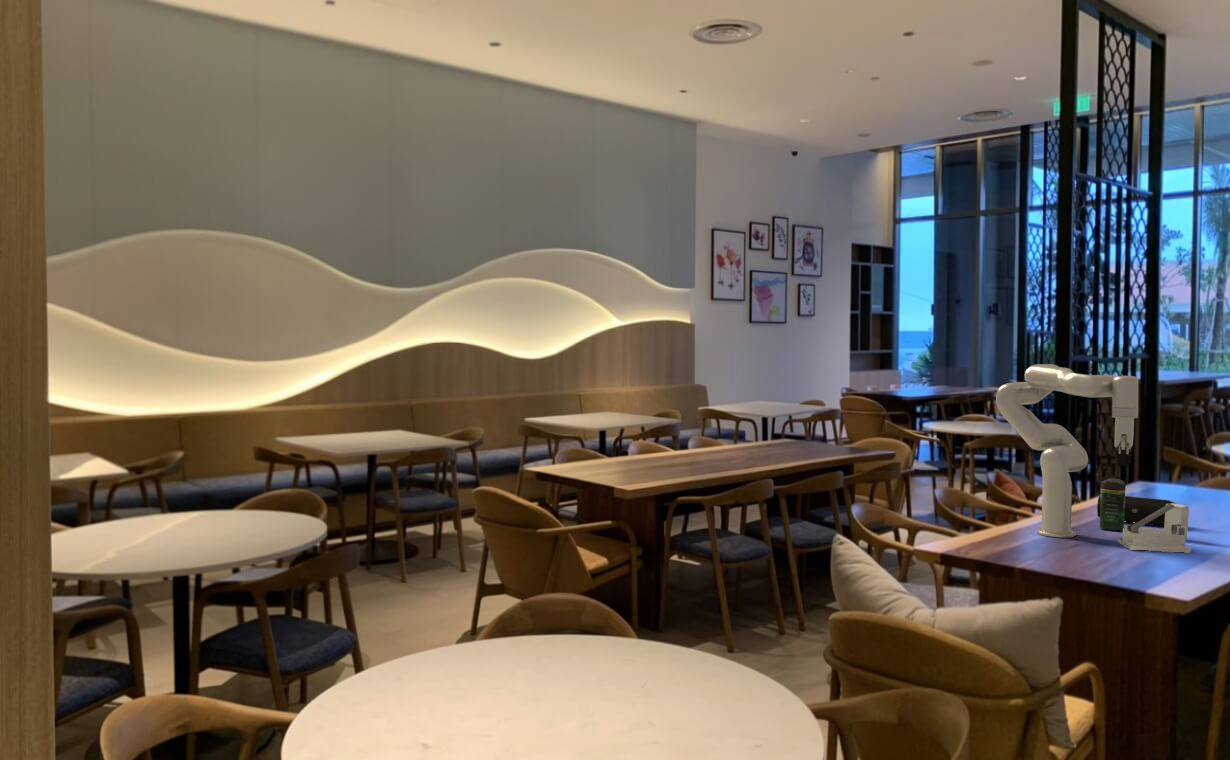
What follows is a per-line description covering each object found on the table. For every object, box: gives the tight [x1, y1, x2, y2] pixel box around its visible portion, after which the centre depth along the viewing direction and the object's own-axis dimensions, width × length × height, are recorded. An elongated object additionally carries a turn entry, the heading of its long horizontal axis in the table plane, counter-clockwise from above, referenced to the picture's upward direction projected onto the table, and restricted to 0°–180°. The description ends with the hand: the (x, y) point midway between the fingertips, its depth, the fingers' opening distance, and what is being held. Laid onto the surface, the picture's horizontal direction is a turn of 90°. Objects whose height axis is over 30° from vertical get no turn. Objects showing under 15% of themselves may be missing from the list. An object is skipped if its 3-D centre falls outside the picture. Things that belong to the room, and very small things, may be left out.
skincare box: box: [1163, 502, 1190, 541], centre depth 316 cm, size 6×4×12 cm
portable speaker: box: [1096, 495, 1177, 527], centre depth 344 cm, size 26×10×10 cm, turn 53°
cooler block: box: [1117, 523, 1192, 554], centre depth 303 cm, size 12×18×8 cm, turn 79°
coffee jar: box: [1099, 477, 1127, 531], centre depth 333 cm, size 10×8×19 cm
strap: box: [1129, 503, 1175, 530], centre depth 303 cm, size 3×15×1 cm
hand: (1124, 464), depth 300 cm, fingers open, 9 cm apart
